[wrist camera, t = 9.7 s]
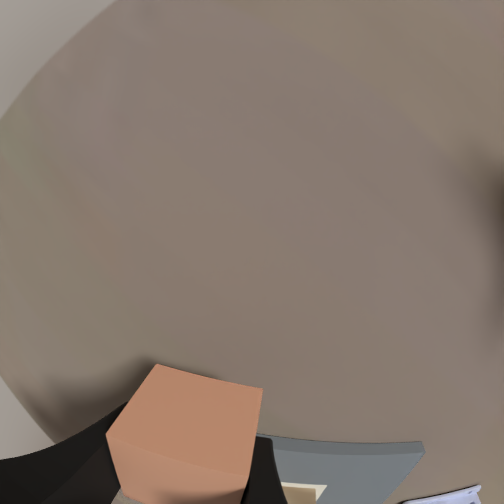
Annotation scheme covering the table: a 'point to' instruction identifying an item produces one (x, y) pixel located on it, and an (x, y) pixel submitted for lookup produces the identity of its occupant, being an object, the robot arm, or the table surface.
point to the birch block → (300, 495)
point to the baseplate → (345, 468)
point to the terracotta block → (185, 439)
